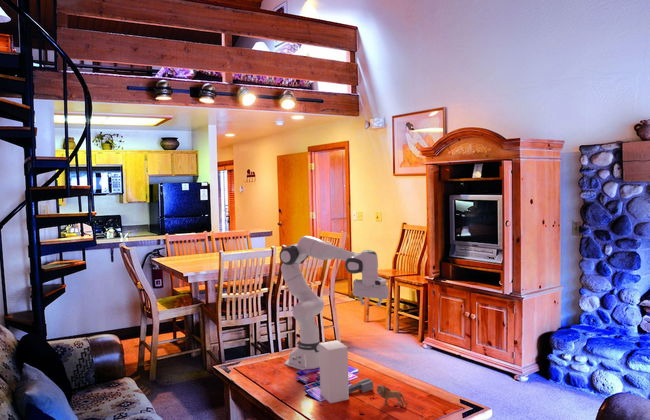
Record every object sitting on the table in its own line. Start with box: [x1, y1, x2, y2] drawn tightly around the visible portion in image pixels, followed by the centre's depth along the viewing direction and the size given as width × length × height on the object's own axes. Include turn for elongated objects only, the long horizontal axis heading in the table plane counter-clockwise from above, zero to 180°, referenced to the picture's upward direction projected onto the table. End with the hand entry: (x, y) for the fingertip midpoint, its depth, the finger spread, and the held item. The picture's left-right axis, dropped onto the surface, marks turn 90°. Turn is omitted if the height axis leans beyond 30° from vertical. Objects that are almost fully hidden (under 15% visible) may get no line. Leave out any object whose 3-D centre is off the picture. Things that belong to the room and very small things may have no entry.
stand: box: [319, 339, 350, 404], centre depth 247 cm, size 10×12×26 cm
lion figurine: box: [376, 384, 409, 408], centre depth 237 cm, size 15×5×9 cm, turn 77°
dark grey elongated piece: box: [349, 377, 375, 394], centre depth 252 cm, size 18×5×4 cm, turn 113°
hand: (370, 305), depth 270 cm, fingers open, 8 cm apart
